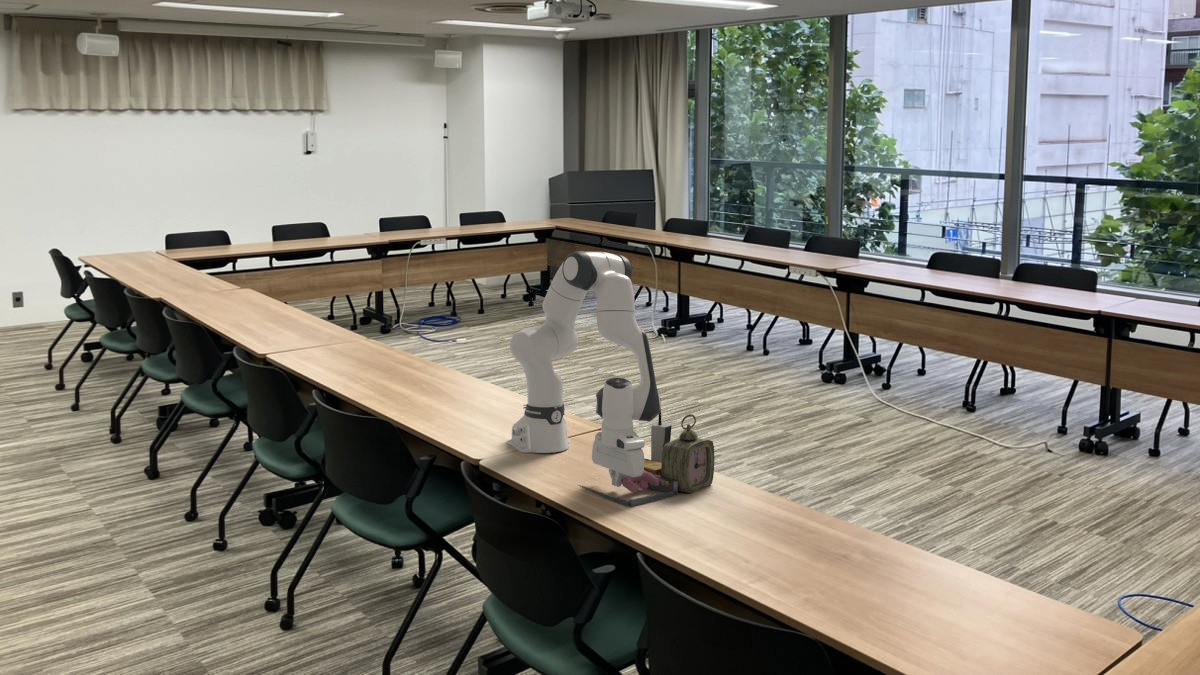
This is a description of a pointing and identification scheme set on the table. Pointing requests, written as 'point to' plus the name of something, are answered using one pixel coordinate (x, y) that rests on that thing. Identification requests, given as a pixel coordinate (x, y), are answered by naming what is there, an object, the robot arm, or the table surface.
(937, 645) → the table surface
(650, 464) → the carton
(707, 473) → the tabletop clock
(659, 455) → the vintage mobile phone
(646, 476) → the purple lumpy piece
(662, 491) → the dock panel
